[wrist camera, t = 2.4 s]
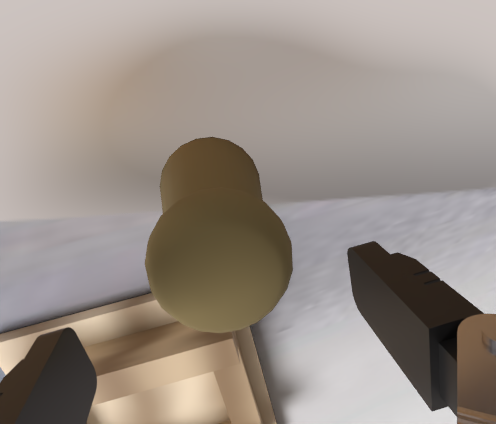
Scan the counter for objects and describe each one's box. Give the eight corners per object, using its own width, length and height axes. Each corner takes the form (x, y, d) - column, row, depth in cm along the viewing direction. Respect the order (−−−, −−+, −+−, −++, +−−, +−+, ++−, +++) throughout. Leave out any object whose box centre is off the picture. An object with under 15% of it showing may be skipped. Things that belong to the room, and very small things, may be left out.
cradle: (234, 270, 23) (241, 306, 20) (278, 430, 29) (290, 480, 26) (-5, 335, 23) (-45, 385, 19) (91, 485, 28) (75, 546, 25)
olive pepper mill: (160, 232, 22) (128, 366, 11) (158, 134, 20) (117, 191, 9) (256, 233, 23) (304, 357, 12) (263, 139, 21) (330, 196, 10)
